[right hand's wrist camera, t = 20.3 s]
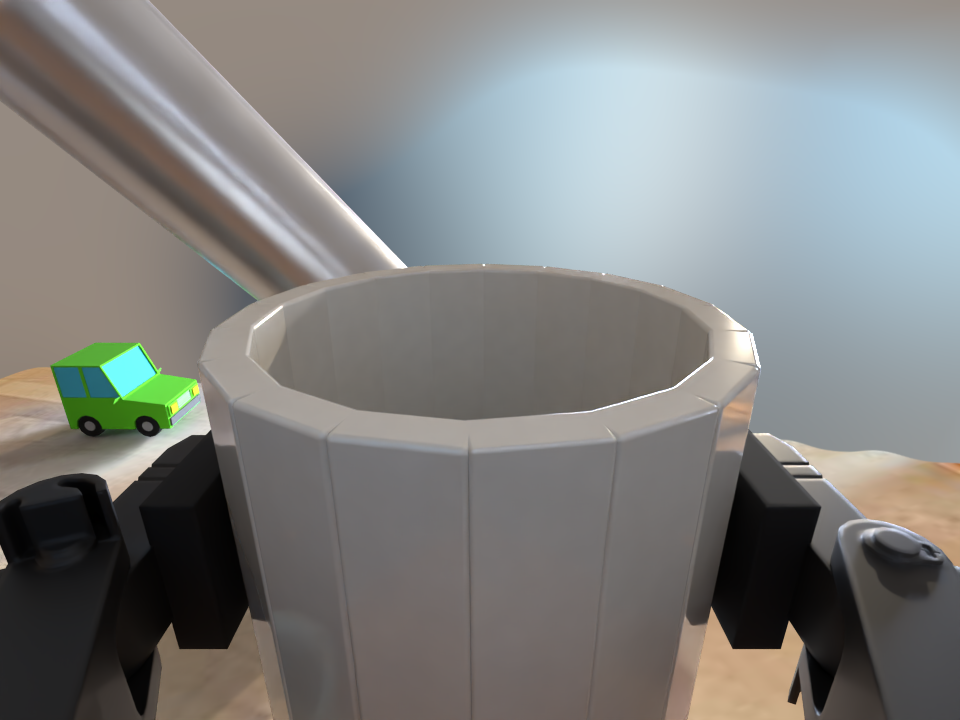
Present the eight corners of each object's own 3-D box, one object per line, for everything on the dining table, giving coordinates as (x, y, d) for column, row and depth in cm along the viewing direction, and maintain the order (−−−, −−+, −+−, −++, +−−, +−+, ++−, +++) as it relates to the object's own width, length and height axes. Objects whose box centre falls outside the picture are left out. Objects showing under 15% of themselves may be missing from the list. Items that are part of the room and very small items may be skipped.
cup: (438, 566, 17) (426, 251, 14) (699, 687, 13) (784, 293, 10) (213, 807, 11) (74, 345, 7) (582, 1163, 7) (693, 571, 3)
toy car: (170, 441, 68) (152, 369, 65) (67, 441, 69) (43, 368, 65) (209, 405, 78) (195, 340, 74) (118, 404, 78) (100, 340, 74)
